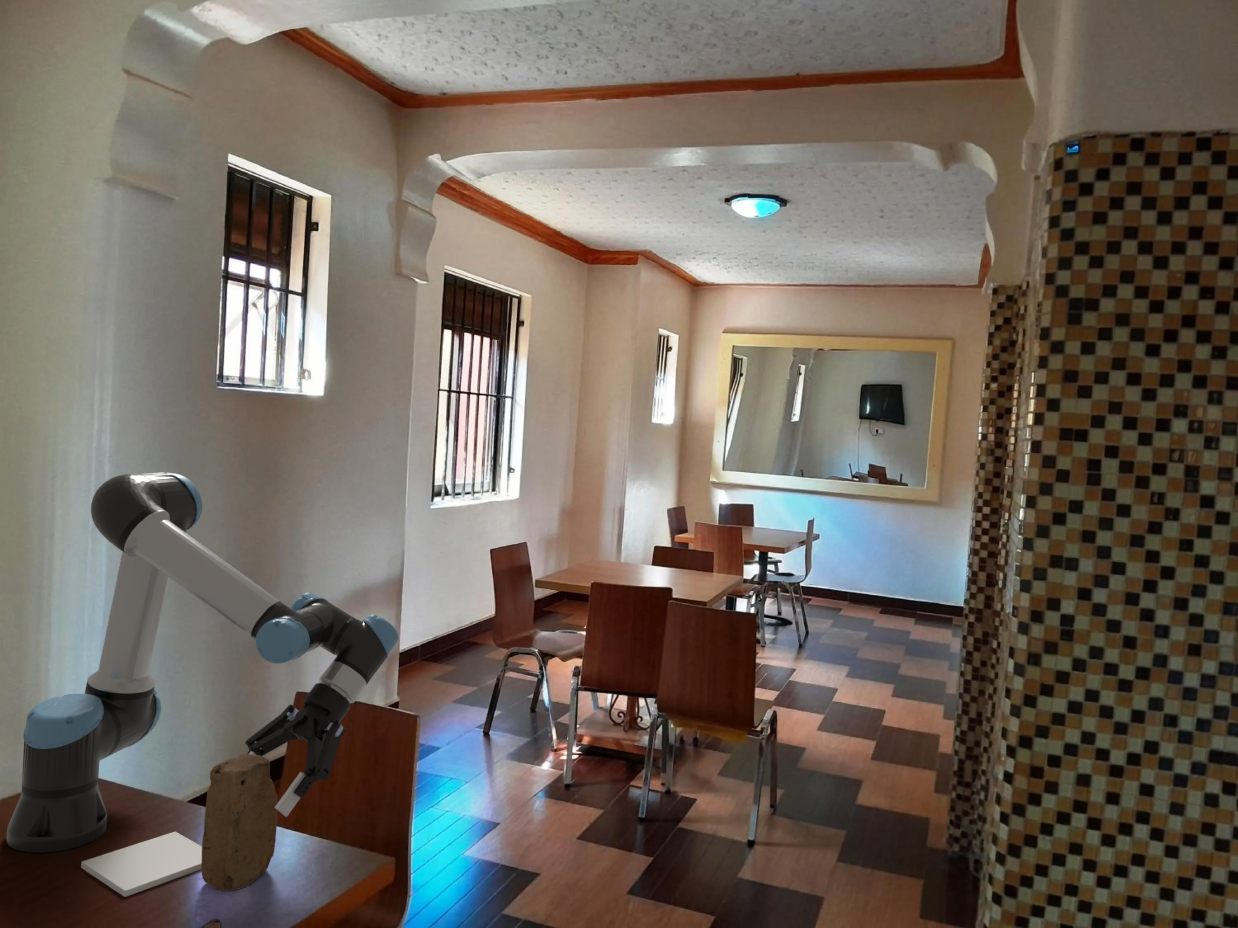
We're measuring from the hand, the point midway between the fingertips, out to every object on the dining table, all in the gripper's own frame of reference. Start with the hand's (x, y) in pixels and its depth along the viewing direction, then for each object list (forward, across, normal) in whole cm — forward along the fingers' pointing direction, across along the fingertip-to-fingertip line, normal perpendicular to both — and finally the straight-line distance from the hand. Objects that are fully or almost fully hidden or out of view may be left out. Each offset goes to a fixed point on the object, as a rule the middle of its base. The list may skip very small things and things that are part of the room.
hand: (255, 800), depth 151 cm
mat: (+15, +15, -3) cm, 22 cm away
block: (+10, +1, -8) cm, 13 cm away
